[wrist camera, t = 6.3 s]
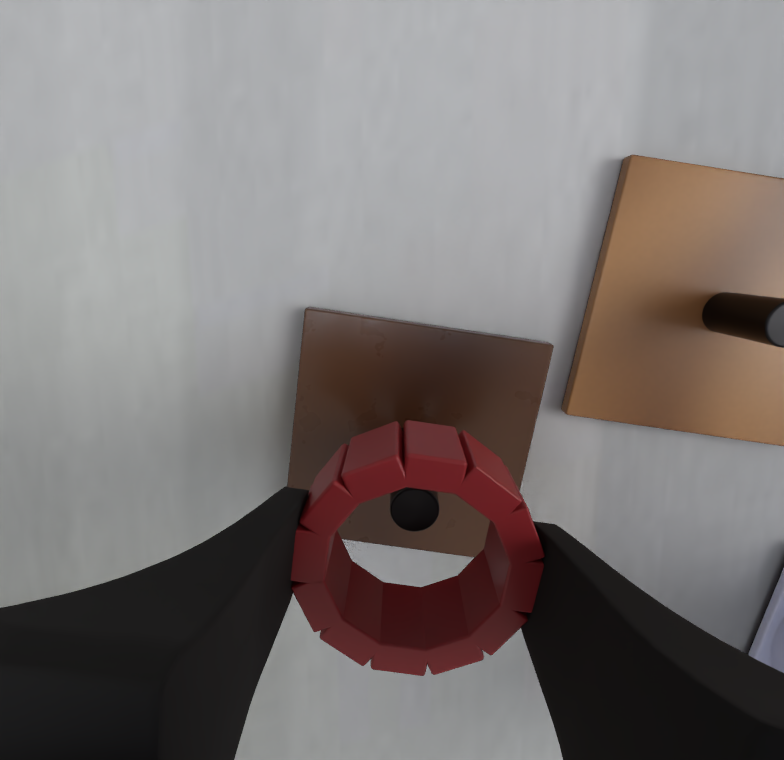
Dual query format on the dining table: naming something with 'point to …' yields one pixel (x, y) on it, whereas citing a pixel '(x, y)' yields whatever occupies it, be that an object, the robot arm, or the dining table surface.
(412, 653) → the ring
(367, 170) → the dining table surface
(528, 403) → the square base plate
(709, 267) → the short stand
